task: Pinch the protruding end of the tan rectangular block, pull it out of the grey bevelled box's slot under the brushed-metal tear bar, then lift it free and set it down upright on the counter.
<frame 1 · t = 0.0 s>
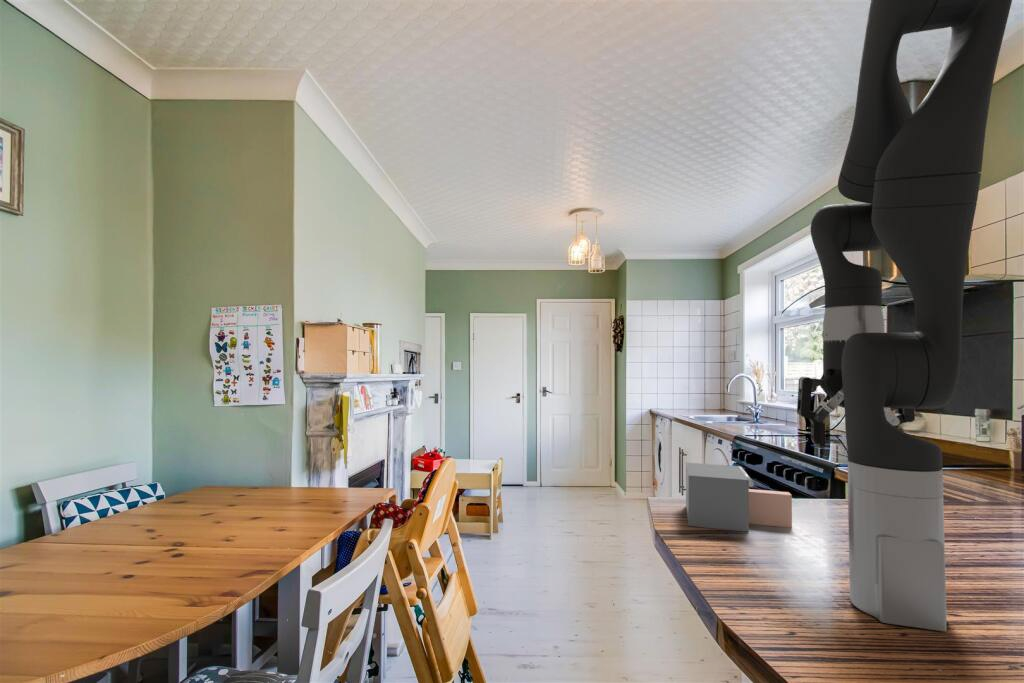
hand: (853, 449, 74), 17 cm above the table, tool pointing down, fingers open, 8 cm apart
grey bevelled box: (714, 518, 97), on the table
tan rectangular block: (743, 522, 96), on the table
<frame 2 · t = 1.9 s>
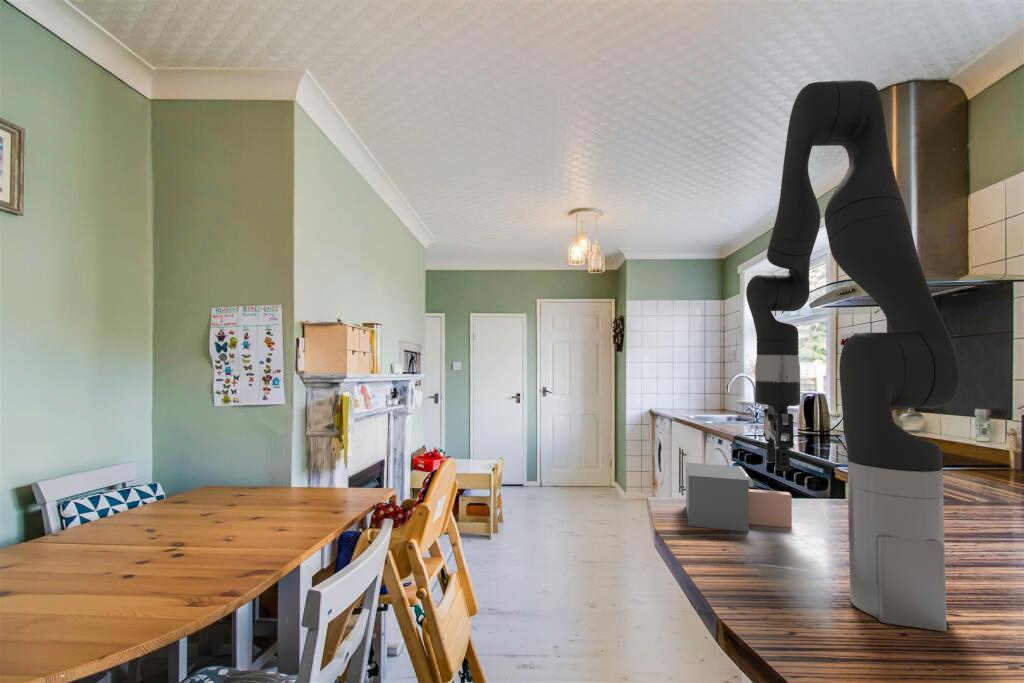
hand: (777, 466, 95), 11 cm above the table, tool pointing down, fingers open, 8 cm apart
nothing on the table moved.
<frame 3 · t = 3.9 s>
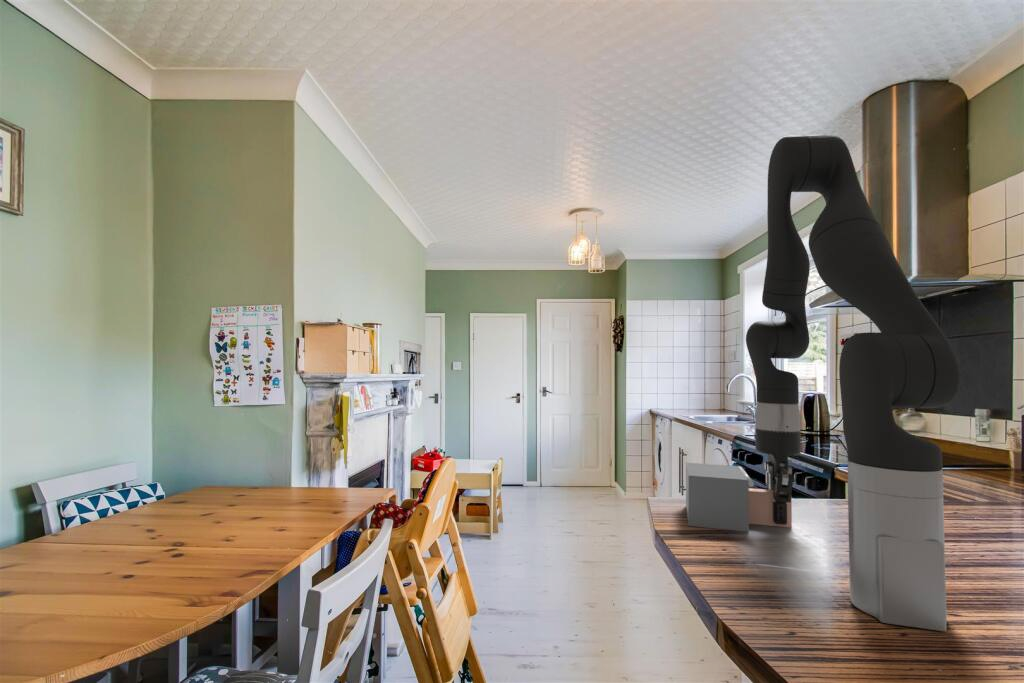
hand: (778, 521, 94), 1 cm above the table, tool pointing down, fingers closed on tan rectangular block, 2 cm apart
tan rectangular block: (742, 521, 96), on the table, touching gripper
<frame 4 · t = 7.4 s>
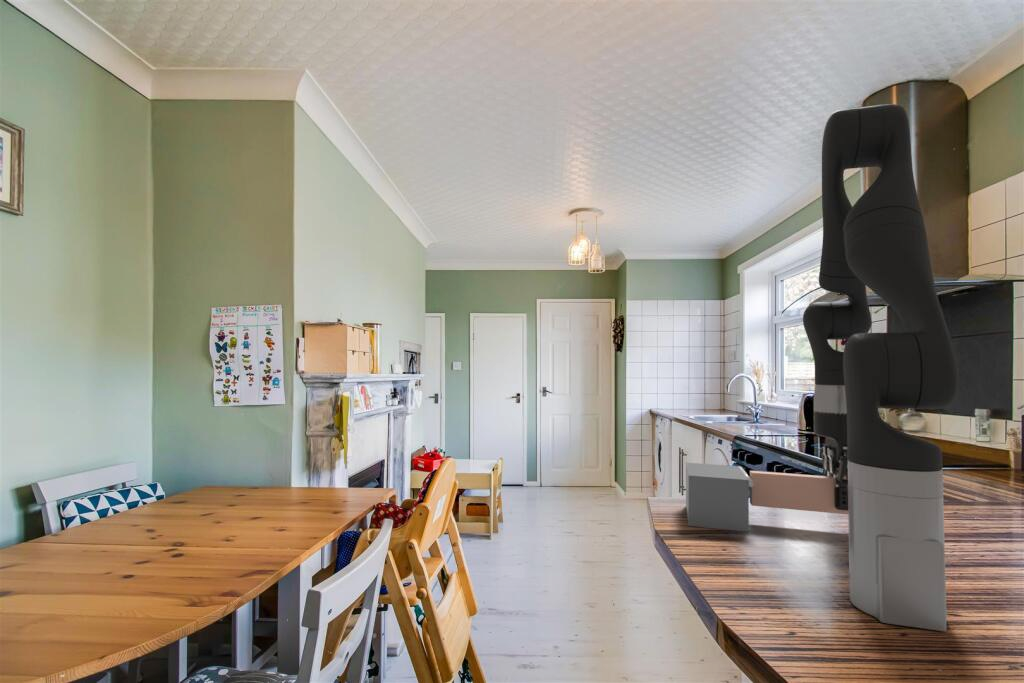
hand: (839, 507, 91), 4 cm above the table, tool pointing down, fingers closed on tan rectangular block, 2 cm apart
tan rectangular block: (798, 508, 93), point 3 cm above the table, touching gripper
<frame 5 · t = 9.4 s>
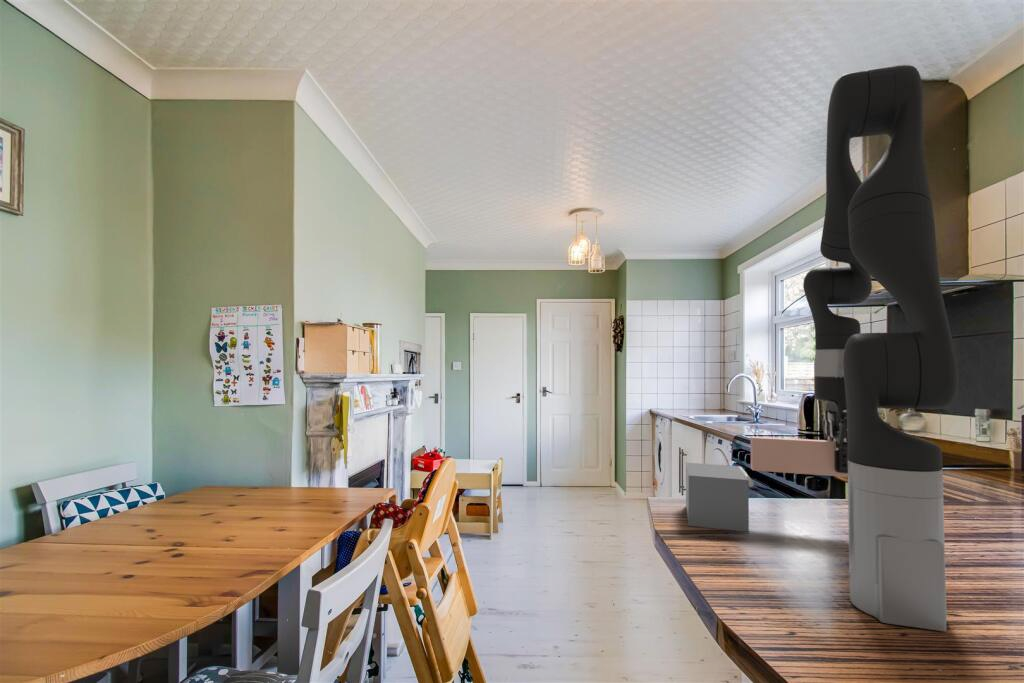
hand: (839, 470, 92), 11 cm above the table, tool pointing down, fingers closed on tan rectangular block, 2 cm apart
tan rectangular block: (799, 472, 94), point 10 cm above the table, touching gripper
when the fingers open (2 cm above the table, at t = 11.2 s): tan rectangular block stays where it is, on the table.
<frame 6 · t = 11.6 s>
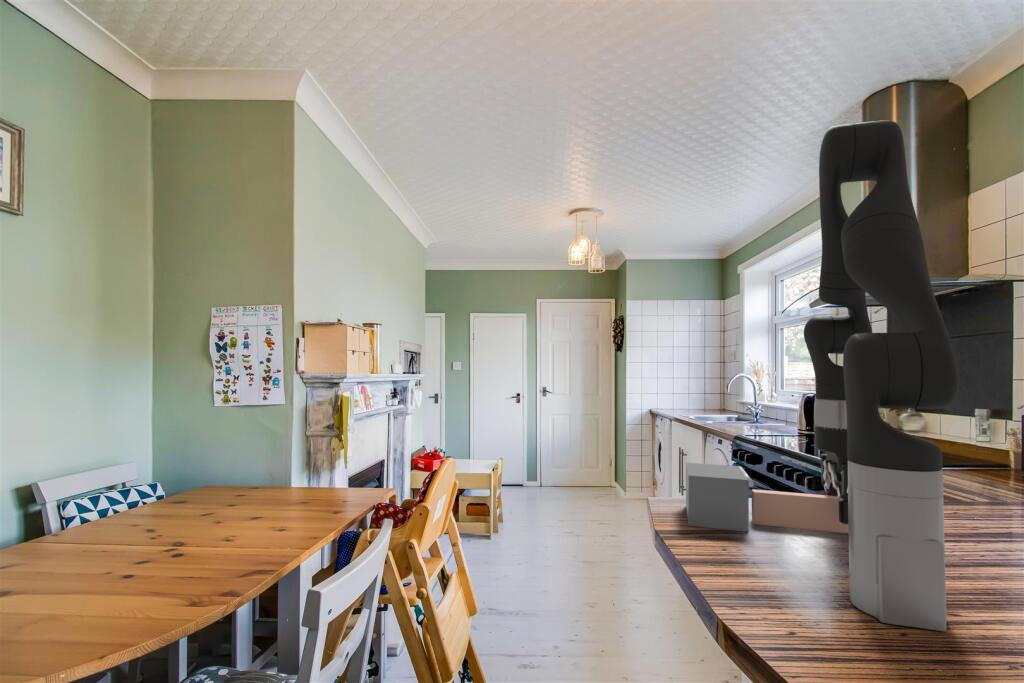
hand: (840, 517, 91), 2 cm above the table, tool pointing down, fingers open, 6 cm apart
tan rectangular block: (800, 527, 93), on the table
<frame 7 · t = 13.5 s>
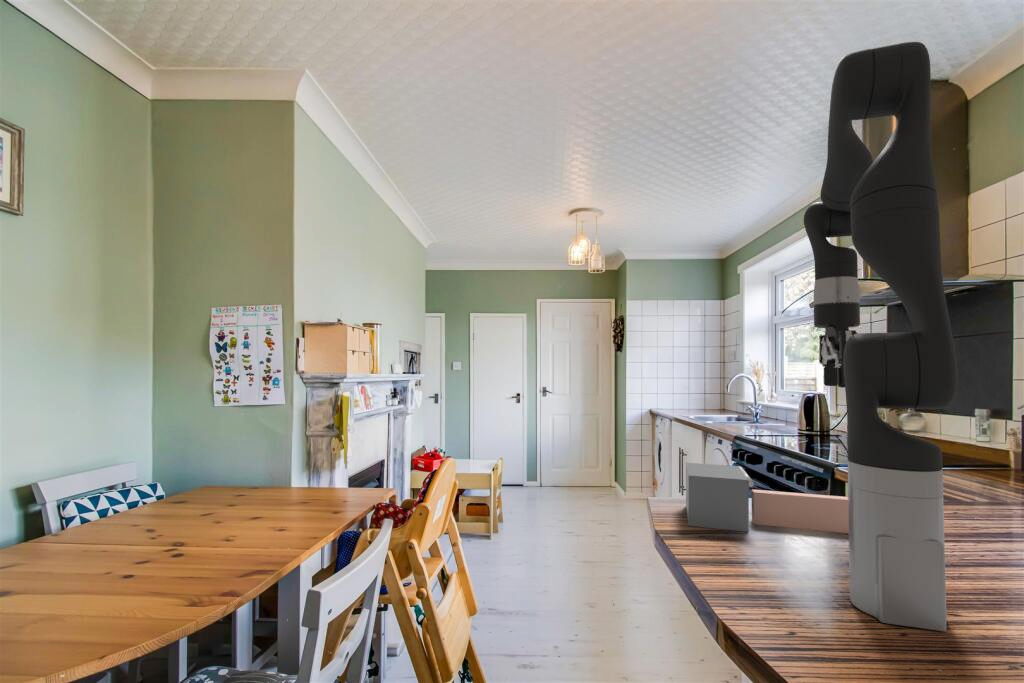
hand: (837, 386, 97), 26 cm above the table, tool pointing down, fingers open, 8 cm apart
nothing on the table moved.
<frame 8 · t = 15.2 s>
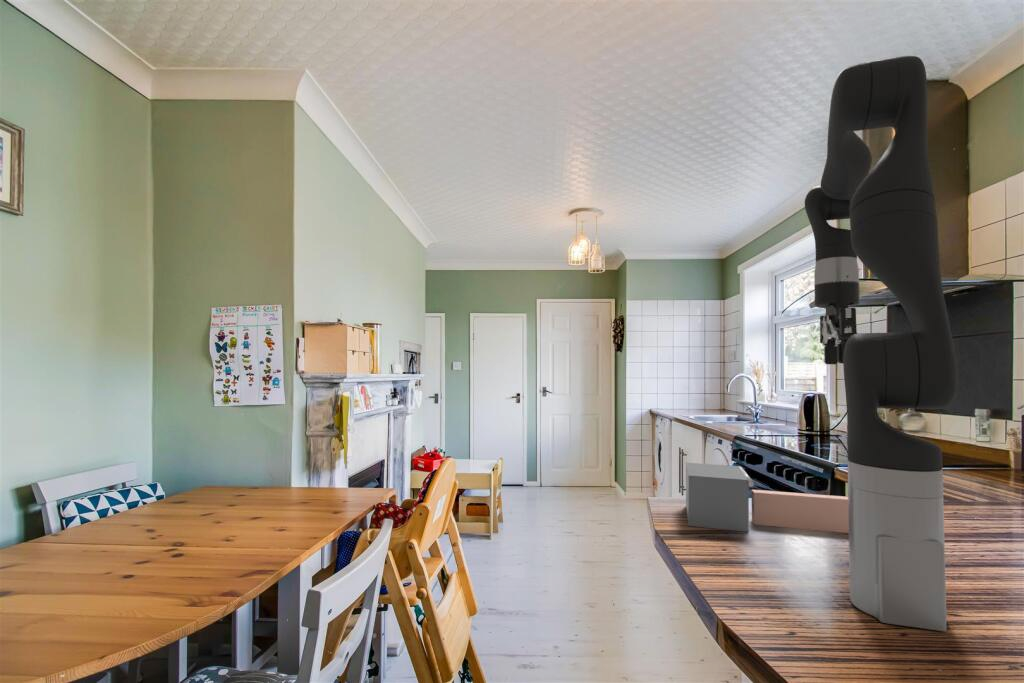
hand: (837, 363, 101), 30 cm above the table, tool pointing down, fingers open, 8 cm apart
nothing on the table moved.
at the end: tan rectangular block inside the target area (5.8 cm from its centre), on the table; the gripper is holding nothing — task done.
